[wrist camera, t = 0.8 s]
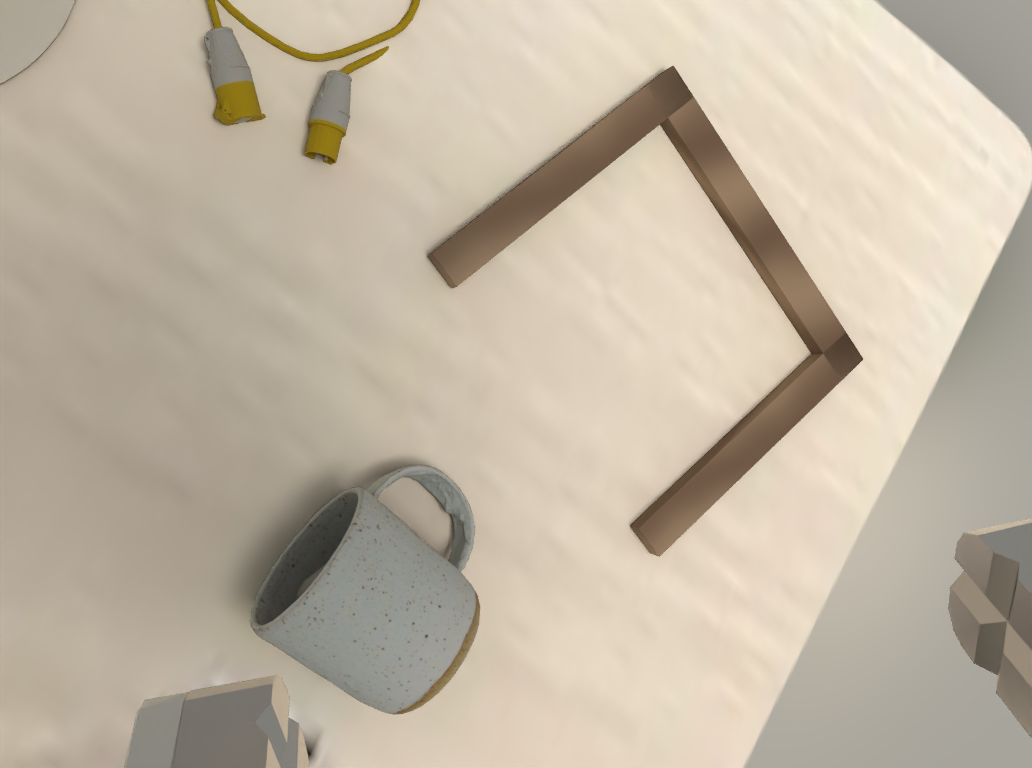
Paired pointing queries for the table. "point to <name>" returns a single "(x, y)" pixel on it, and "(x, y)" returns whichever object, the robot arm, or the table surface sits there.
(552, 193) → the frame
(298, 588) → the ceramic mug
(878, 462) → the table surface
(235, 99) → the extension cord
